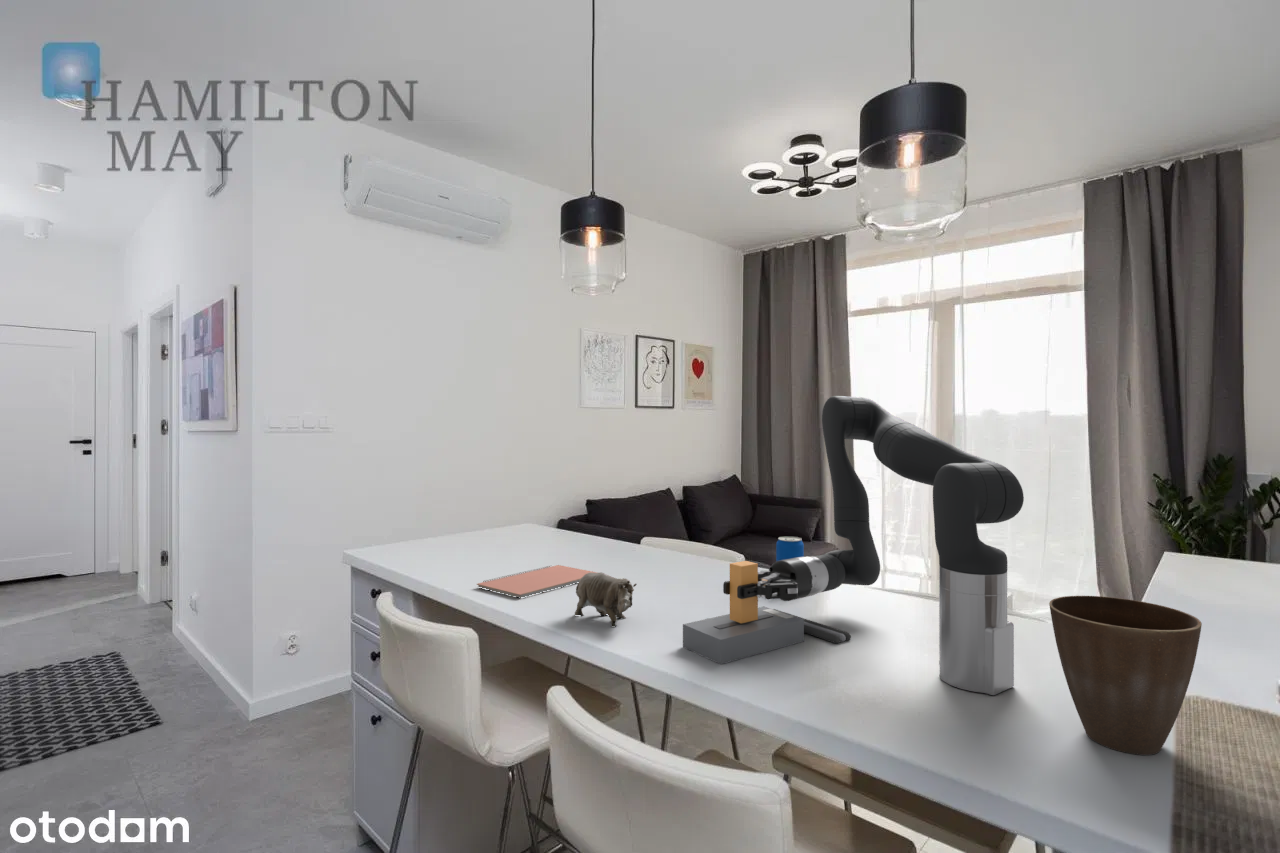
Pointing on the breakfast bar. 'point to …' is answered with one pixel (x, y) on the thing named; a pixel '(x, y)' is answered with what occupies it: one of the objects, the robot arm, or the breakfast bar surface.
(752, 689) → the breakfast bar surface
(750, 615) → the handle
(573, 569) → the notebook
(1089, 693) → the plant pot
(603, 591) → the rhinoceros figurine
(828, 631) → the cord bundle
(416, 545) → the breakfast bar surface
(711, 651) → the breaker box
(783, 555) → the beverage can
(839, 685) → the breakfast bar surface
